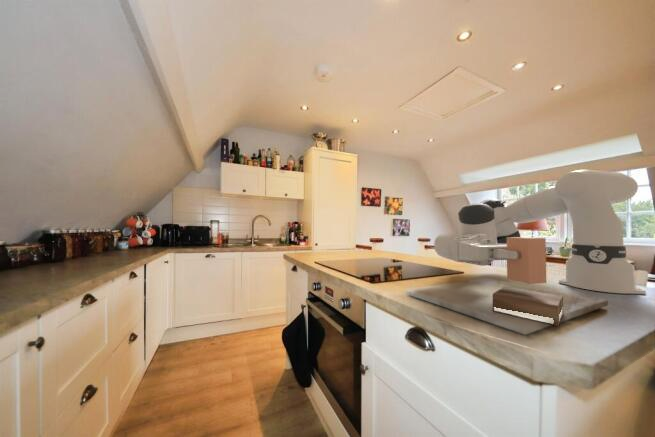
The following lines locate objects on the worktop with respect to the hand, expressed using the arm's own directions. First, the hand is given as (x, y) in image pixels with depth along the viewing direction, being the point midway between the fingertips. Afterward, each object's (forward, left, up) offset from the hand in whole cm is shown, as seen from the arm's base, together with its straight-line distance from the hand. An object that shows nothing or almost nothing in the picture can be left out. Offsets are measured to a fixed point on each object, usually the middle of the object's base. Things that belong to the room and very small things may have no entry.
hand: (529, 255), depth 55 cm
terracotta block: (0, -1, -6) cm, 6 cm away
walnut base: (-1, -1, -13) cm, 13 cm away
